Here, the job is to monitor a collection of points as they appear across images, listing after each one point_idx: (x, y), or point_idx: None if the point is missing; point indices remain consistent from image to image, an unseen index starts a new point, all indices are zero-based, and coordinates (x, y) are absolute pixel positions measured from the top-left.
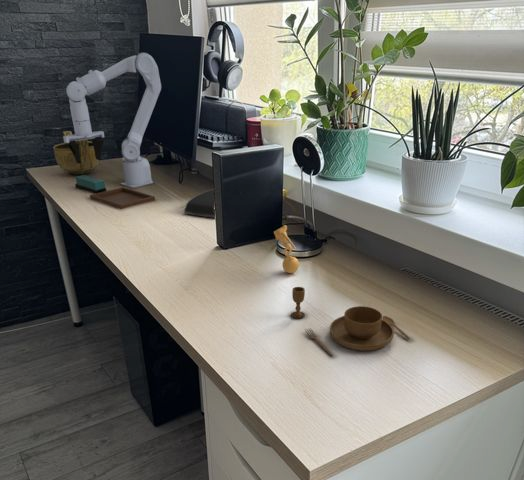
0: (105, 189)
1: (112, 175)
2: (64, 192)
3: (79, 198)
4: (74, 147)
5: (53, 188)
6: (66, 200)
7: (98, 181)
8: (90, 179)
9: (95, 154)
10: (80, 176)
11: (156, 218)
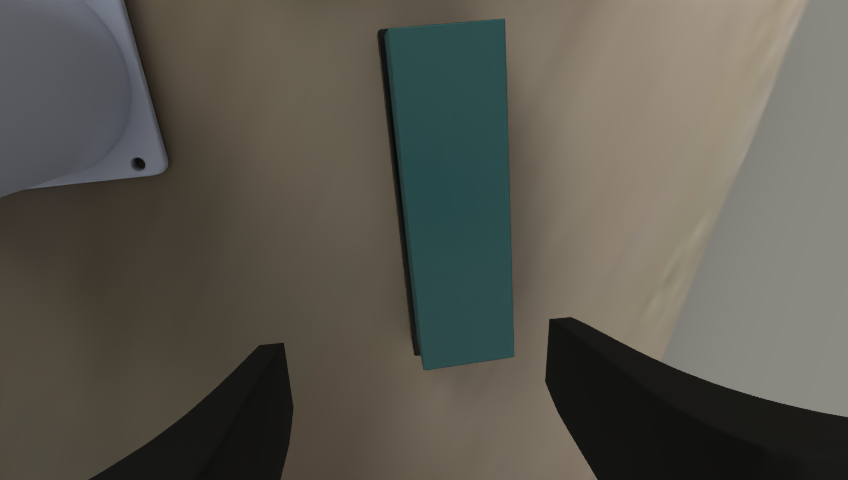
0: (386, 29)
1: None
2: (611, 265)
3: (636, 18)
4: (820, 418)
5: None
6: (727, 42)
7: (448, 41)
8: (467, 182)
9: (282, 453)
10: (476, 345)
11: None
